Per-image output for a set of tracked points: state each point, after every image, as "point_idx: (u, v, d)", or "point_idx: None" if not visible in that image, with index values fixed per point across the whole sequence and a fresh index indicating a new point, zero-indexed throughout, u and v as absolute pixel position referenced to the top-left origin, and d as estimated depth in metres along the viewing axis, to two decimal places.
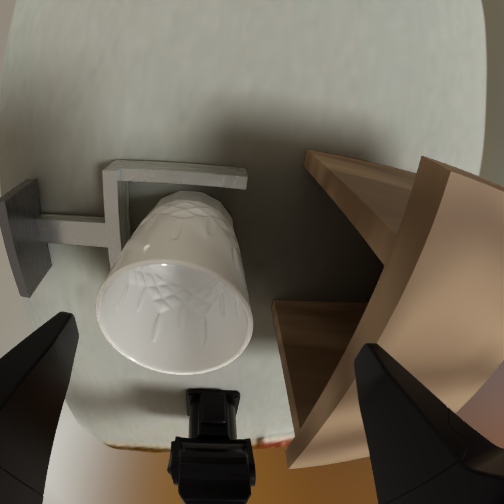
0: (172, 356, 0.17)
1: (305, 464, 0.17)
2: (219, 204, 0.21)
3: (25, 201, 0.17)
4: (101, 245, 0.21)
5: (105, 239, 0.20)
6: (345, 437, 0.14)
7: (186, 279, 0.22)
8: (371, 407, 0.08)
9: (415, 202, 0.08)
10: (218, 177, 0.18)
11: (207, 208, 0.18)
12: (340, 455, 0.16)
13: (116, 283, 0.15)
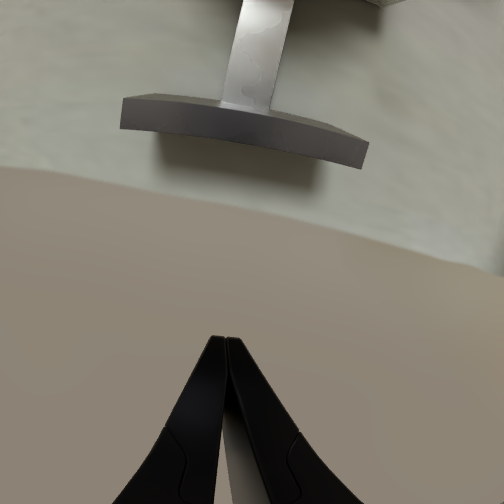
0: None
1: None
2: None
3: (169, 96, 0.10)
4: None
5: None
6: None
7: None
8: (224, 412, 0.07)
9: None
10: None
11: None
12: None
13: None
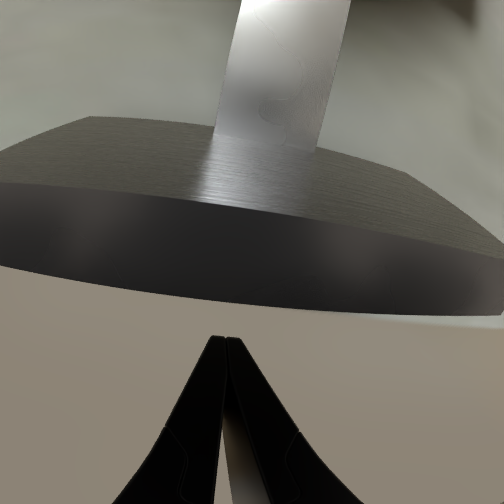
0: None
1: None
2: None
3: (95, 132, 0.04)
4: None
5: None
6: None
7: None
8: (224, 412, 0.07)
9: None
10: None
11: None
12: None
13: None
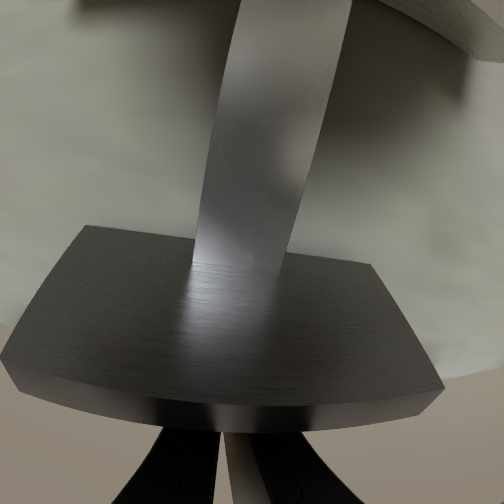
0: None
1: None
2: None
3: (95, 276, 0.05)
4: (342, 13, 0.04)
5: None
6: None
7: None
8: None
9: None
10: None
11: None
12: None
13: None
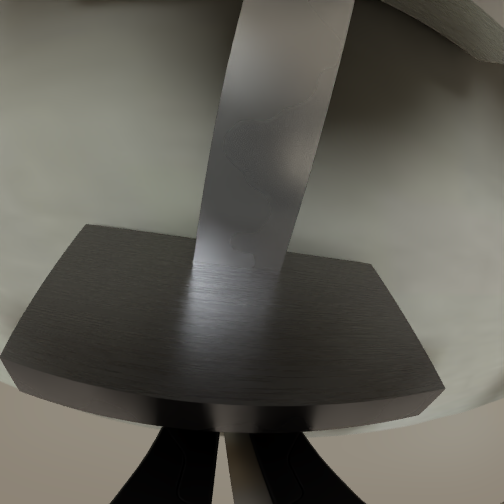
0: None
1: None
2: None
3: (96, 275, 0.05)
4: (345, 13, 0.04)
5: None
6: None
7: None
8: None
9: None
10: None
11: None
12: None
13: None
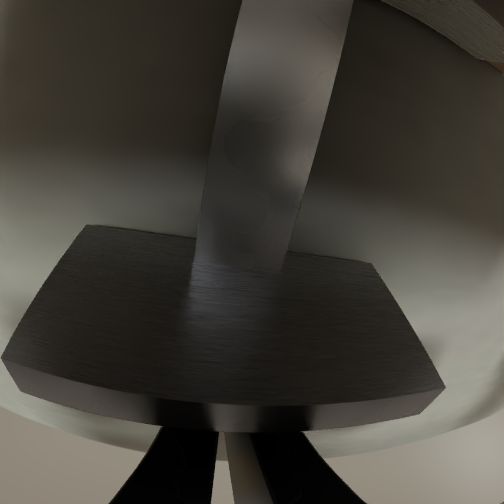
0: None
1: None
2: None
3: (96, 276, 0.06)
4: (344, 12, 0.04)
5: None
6: None
7: None
8: None
9: None
10: None
11: None
12: None
13: None
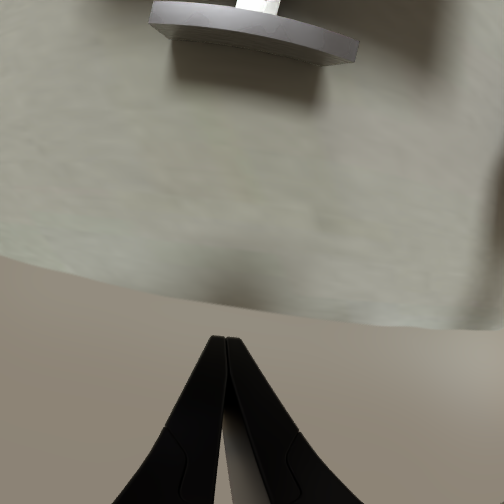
0: None
1: None
2: None
3: None
4: None
5: None
6: None
7: None
8: (224, 412, 0.07)
9: None
10: None
11: None
12: None
13: None
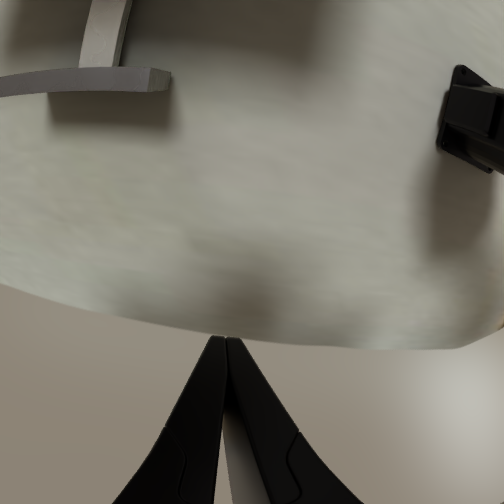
0: None
1: None
2: None
3: None
4: None
5: None
6: None
7: None
8: (224, 412, 0.07)
9: None
10: None
11: None
12: None
13: None
